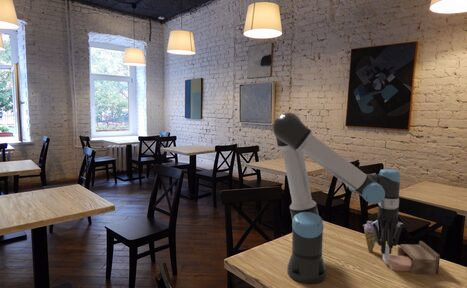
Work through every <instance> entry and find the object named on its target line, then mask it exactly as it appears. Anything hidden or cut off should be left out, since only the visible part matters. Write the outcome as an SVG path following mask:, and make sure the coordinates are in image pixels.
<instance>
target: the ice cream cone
mask: <svg viewBox="0 0 467 288" xmlns="http://www.w3.org/2000/svg"><path fill="white" fill-rule="evenodd" d="M371 222H373V221H372V220H367V221H366V223H365V224H363V225H362V227H363V228H364V236H365V241H366V246H367V249H368V252H369V253H372V252H373V251H374V247H375V245H376V243H377V242H376V238H375V233H374V229H373V226H372V224H371ZM379 226H380V225H379V224H378V230H379V231H380V227H379Z"/></svg>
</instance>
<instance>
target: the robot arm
mask: <svg viewBox="0 0 467 288" xmlns="http://www.w3.org/2000/svg"><path fill="white" fill-rule="evenodd" d="M272 130H273V135H274V137H275V138H276V144H277V147H278V148H279V149H280V150H281V152H282V156H283V162H284V167H285V171H286V178H287V182H288V188H289V193H290V197H291V198H290V199H291V204H290V205H289V210H290V211H289V212H290V215H291V221H292V224H291V228H292V231H291V232H292V234H291V235H292V241H291V242H292V243H291V245H292V246H291V249H292V250H291V251H292V252H291V255H290V258H289V261H288V262H287V263H288V264H287V266H286V267H287V268H286V269H287V274H289V275H288V277H290V278H291V277H292V278H291V279H292V280H294V279H295V281H296V280H297V282H299V281H300V282H299V283H302V282H304V284H318V283H321V282H323V281H325V280H326V278H327V268H326V265H325V262H324V258H323V236H324V235H323V234H324V233H323V232H324V221H323V218H322V217H321V216H320V215H319V211H318V205H317V202H316V201H315V200H313V198H312V193H311V187H310V182H309V178H308V171H307V167H306V166H307V165H306V160H305V156H304V154H305V155H306V156H307V157H308V158H310V159H311V160H312V161H314V162H315V163H316V164H318V165H319V166H321V167H322V168H323V169H325V170H326V171H327V172H329V173H330V174H331V175H332V176H334V177H335V178H336V179H338V180H339V181H340V182H342V183H343V184H345V186H347V187H348V189H349V191H350V192H351V193H352V192H354V193H357V195H359V196H361V197H362V198H363V199H364V200H365V201H366V202H368V204H372V205H376V204H378V206H377V216H376V220H375V221H372V222H371V224H372V226H373V229H374V233H375V238H376V243H377V245H378V246H380V253H381V254H382V261H384V263H386V262H387V263H389V255H392V252H393V251H392V249H393V248H394V247H398V242H399V240H400V236H401V233H402V230H403V229H404V227H405V224H404V223H402V222H401V221H399V205H400V190H401V189H400V188H401V173H400V171H398V170H396V169H393V168H392V169H390V168H389V169H387V168H383V169H380V171H379V173H378V174H375V173H374V174H371V173H370V174H369V173H364V172H363V171H362V170H361V169H359V168H358V167H357V166H356V165H354V164H352V163H351V162H350V161H348V160H347V159H346V158H344V157H343V156H342V155H340V154H339V153H338V152H337V151H335V150H333V148H331V147H330V146H329V145H327V144H325V143H324V142H323V141H321V140H320V139H319V138H317V137H316V136H315V135H313V131H312V130H311V129H310V128H309V127H307V125H305V124H304V123H303V122H302V121H301V118H300V117H299V116H298V115H296V114H295V113H292V112H284V113H281V114H280V115H278V117H276V119H274V121H273V124H272ZM378 225H379V226H380V229H381V231H380V229H379V230H378ZM394 228H395V229H394ZM379 231H380V232H379Z"/></svg>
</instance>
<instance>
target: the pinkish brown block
mask: <svg viewBox="0 0 467 288" xmlns="http://www.w3.org/2000/svg"><path fill="white" fill-rule="evenodd" d="M411 260H413V259H412V258H411V257H410V256H398V255H397V254H395V255H393V254H389V263H387V262H385V263H386V265H387V266H388V267H389V269H390V270H391V271H400V272H401V271H402V272H411Z"/></svg>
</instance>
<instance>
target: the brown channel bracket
mask: <svg viewBox="0 0 467 288" xmlns="http://www.w3.org/2000/svg"><path fill="white" fill-rule="evenodd" d="M396 255H398V256H410V257H411V258H412V259H413V260H411V271H410V273H411V274H413V275H414V274H415V275H435V276H437V275H438V276H439V274H440V273H439V272H440V261H441V260H440V258H441V255H440V254H439V253H438V252H436V251H435V250H434V249H433V248H431V247H430V246H429V245H428V244H427V243H425V242H424V241H423V240H419V241H418V244H405V243H404V244H403V243H402V244H401V243H400V245H399V246H397V254H396Z"/></svg>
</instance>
